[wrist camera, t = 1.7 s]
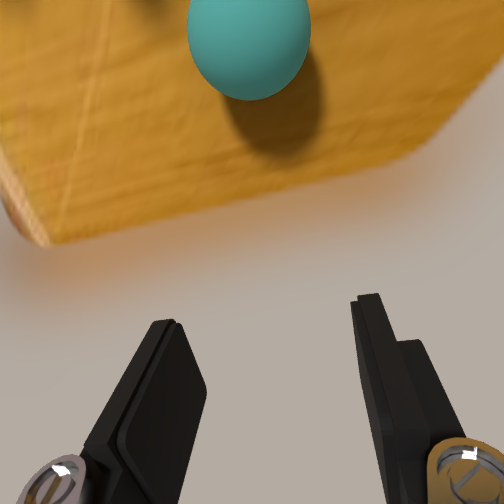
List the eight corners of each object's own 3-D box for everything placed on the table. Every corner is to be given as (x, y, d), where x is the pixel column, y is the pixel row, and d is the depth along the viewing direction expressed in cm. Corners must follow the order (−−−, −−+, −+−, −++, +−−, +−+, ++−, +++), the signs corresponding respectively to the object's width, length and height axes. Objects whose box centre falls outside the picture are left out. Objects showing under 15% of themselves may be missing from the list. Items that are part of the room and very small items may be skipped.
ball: (298, -44, 18) (300, -92, 13) (316, 82, 20) (323, 87, 15) (189, -9, 19) (149, -39, 14) (219, 106, 22) (194, 118, 16)
